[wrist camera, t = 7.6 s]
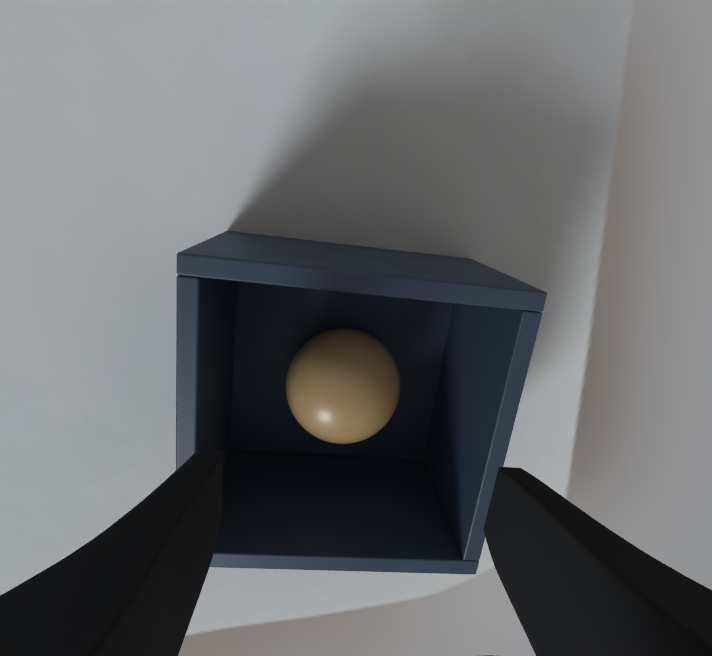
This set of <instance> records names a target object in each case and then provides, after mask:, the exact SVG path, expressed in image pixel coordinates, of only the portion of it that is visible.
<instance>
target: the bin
mask: <svg viewBox="0 0 712 656" xmlns="http://www.w3.org/2000/svg"><path fill="white" fill-rule="evenodd" d="M177 274H178V276H177V361H176V470H177V469H178V468H179V467H180V466H182V465H183V464H184V463H185V462H186V461H187V460H188V459H189V458H190V457H191V456H192V455H193V454H194V453H195V452H197V451H198V450H213V451H224V466H223V492H222V517H221V523H220V528H219V532H218V536H217V541H216V545H215V549H214V553H213V557H212V561H211V564H210V567H227V568H264V569H300V570H337V571H373V572H410V573H447V574H476V571H477V567H478V563H479V559H480V555H481V551H482V547H483V543H484V539H485V534H484V531H483V529H484V525H485V521H486V517H487V513H488V509H489V505H490V501H491V497H492V493H493V489H494V485H495V481H496V477H497V473H498V469H499V467H503V465H504V461H505V457H506V453H507V449H508V445H509V441H510V437H511V433H512V429H513V425H514V422H515V418H516V414H517V410H518V406H519V402H520V398H521V394H522V390H523V386H524V382H525V378H526V374H527V371H528V367H529V363H530V359H531V355H532V351H533V347H534V343H535V339H536V335H537V331H538V327H539V324H540V320H541V316H542V313H541V312H542V311H543V307H544V303H545V299H546V295H547V293H546V292H544V291H542V290H540V289H537V288H535V287H533V286H531V285H528V284H526V283H524V282H522V281H519V280H517V279H515V278H513V277H510V276H508V275H506V274H504V273H501V272H499V271H497V270H495V269H492V268H490V267H488V266H486V265H484V264H481V263H479V262H477V261H475V260H473V259H467V258H458V257H449V256H441V255H432V254H423V253H415V252H406V251H397V250H388V249H380V248H371V247H362V246H353V245H345V244H336V243H327V242H319V241H310V240H301V239H292V238H284V237H275V236H266V235H257V234H249V233H240V232H231V231H225V232H224V233H222V234H219V235H217V236H215V237H213V238H210V239H208V240H206V241H204V242H201V243H199V244H197V245H195V246H192V247H190V248H188V249H186V250H183V251H181V252H179V253H178V254H177ZM339 328H349V329H355V330H359V331H362V332H365V333H367V334H369V335H371V336H372V337H374V338H376V339H377V340H378V341H380V342H381V343H382V344H383V345H384V346H385V347H386V348H387V349H388V351H389V352H390V354H391V355H392V357H393V359H394V360H395V362H396V365H397V368H398V371H399V376H400V396H399V400H398V404H397V406H396V409H395V411H394V413H393V415H392V417H391V418H390V420H389V421H388V422H387V423H386V425H385V426H384V427H383V428H382V429H381V430H379V431H378V432H377V433H376V434H374V435H373V436H371V437H369V438H367V439H365V440H362V441H359V442H355V443H348V444H337V443H331V442H326V441H324V440H321V439H319V438H317V437H315V436H313V435H312V434H310V433H309V432H307V431H306V430H305V429H304V428H303V427H302V426H301V425H300V424H299V422H298V421H297V420H296V418H295V417H294V415H293V414H292V411H291V409H290V407H289V404H288V400H287V395H286V377H287V372H288V369H289V366H290V363H291V361H292V359H293V357H294V356H295V354H296V353H297V351H298V350H299V349H300V348H301V347H302V345H303V344H305V343H306V342H307V341H308V340H309V339H311V338H312V337H314V336H316V335H317V334H319V333H322V332H325V331H328V330H332V329H339Z"/></svg>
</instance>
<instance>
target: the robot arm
mask: <svg viewBox="0 0 712 656" xmlns="http://www.w3.org/2000/svg"><path fill="white" fill-rule="evenodd" d="M223 466H224V451H213V450H198V451H197V452H195V453H194V454H193V455H192V456H191V457H190V458H189V459H188V460H187V461H186V462H185V463H184V464H183V465H182V466H180V467H179V468H178V469H177V470H176V471H175V472H174V473H173V474H172V475H171V476H170V477H169V478H168V479H167V480H165V481H164V482H163V483H162V484H161V485H160V486H159V487H158V488H156V489H155V490H154V491H153V492H152V493H151V494H150V495H148V496H147V497H146V498H145V499H144V500H143V501H142V502H140V503H139V504H138V505H137V506H136V507H134V508H133V509H132V510H131V511H129V512H128V513H127V514H125V515H124V516H123V517H122V518H120V519H119V520H118V521H117V522H115V523H114V524H113V525H112V526H110V527H109V528H108V529H106V530H105V531H104V532H102V533H101V534H100V535H98V536H97V537H95V538H94V539H93V540H91V541H90V542H88V543H87V544H85V545H84V546H82V547H81V548H79V549H78V550H76V551H75V552H73V553H72V554H70V555H69V556H67V557H66V558H64V559H62V560H61V561H59V562H58V563H56V564H54V565H52V566H51V567H49V568H47V569H46V570H44V571H42V572H41V573H39V574H37V575H35V576H34V577H32V578H30V579H29V580H27V581H25V582H23V583H22V584H20V585H18V586H17V587H15V588H13V589H12V590H10V591H8V592H6V593H4V594H2V595H1V596H0V656H178V654H179V651H180V648H181V645H182V643H183V639H184V637H185V634H186V631H187V629H188V626H189V623H190V620H191V617H192V615H193V612H194V609H195V606H196V603H197V601H198V598H199V595H200V592H201V589H202V586H203V584H204V581H205V578H206V575H207V572H208V569H209V567H210V564H211V561H212V557H213V553H214V549H215V545H216V541H217V536H218V532H219V528H220V523H221V517H222V492H223ZM483 531H484V534H485V537H486V540H487V544H488V547H489V550H490V553H491V556H492V559H493V562H494V565H495V568H496V570H497V573H498V575H499V577H500V579H501V581H502V583H503V586H504V588H505V590H506V592H507V594H508V596H509V599H510V601H511V603H512V605H513V607H514V609H515V611H516V613H517V616H518V618H519V620H520V622H521V624H522V626H523V628H524V631H525V632H526V635H527V637H528V639H529V641H530V643H531V646H532V648H533V650H534V652H535V654H536V656H712V590H710V589H708V588H706V587H704V586H703V585H701V584H699V583H697V582H695V581H693V580H691V579H690V578H688V577H686V576H684V575H682V574H681V573H679V572H677V571H675V570H674V569H672V568H670V567H668V566H667V565H665V564H663V563H662V562H660V561H658V560H656V559H655V558H653V557H651V556H650V555H648V554H646V553H645V552H643V551H641V550H640V549H638V548H636V547H635V546H633V545H632V544H630V543H629V542H627V541H626V540H624V539H623V538H621V537H620V536H618V535H617V534H615V533H614V532H612V531H611V530H609V529H608V528H606V527H605V526H603V525H602V524H600V523H599V522H597V521H596V520H595V519H593V518H592V517H590V516H589V515H587V514H586V513H585V512H583V511H582V510H580V509H579V508H578V507H576V506H575V505H573V504H572V503H570V502H569V501H568V500H566V499H565V498H564V497H562V496H561V495H559V494H558V493H557V492H555V491H554V490H552V489H551V488H550V487H548V486H547V485H545V484H544V483H543V482H541V481H540V480H538V479H537V478H535V477H534V476H532V475H531V474H529V473H528V472H526V471H524V470H523V469H521V468H509V467H499V469H498V473H497V477H496V481H495V485H494V489H493V493H492V497H491V501H490V505H489V509H488V513H487V517H486V521H485V525H484V529H483Z"/></svg>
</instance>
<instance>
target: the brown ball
mask: <svg viewBox="0 0 712 656" xmlns="http://www.w3.org/2000/svg"><path fill="white" fill-rule="evenodd" d="M286 395H287V400H288V404H289V407H290V409H291V411H292V414H293V415H294V417H295V418H296V420H297V421H298V422H299V424H300V425H301V426H302V427H303V428H304V429H305V430H306V431H307V432H309V433H310V434H312V435H313V436H315V437H317V438H319V439H321V440H324V441H326V442H331V443H337V444H348V443H355V442H359V441H362V440H365V439H367V438H369V437H371V436H373V435H374V434H376V433H377V432H378V431H379V430H381V429H382V428H383V427H384V426H385V425H386V423H387V422H388V421H389V420H390V418H391V417H392V415H393V413H394V411H395V409H396V406H397V404H398V400H399V396H400V376H399V371H398V368H397V365H396V362H395V360H394V359H393V357H392V355H391V354H390V352H389V351H388V349H387V348H386V347H385V346H384V345H383V344H382V343H381V342H380V341H378V340H377V339H376V338H374V337H372V336H371V335H369V334H367V333H365V332H362V331H359V330H355V329H349V328H339V329H332V330H328V331H325V332H322V333H319V334H317V335H316V336H314V337H312V338H311V339H309V340H308V341H307V342H306V343H305V344H303V345H302V347H301V348H300V349H299V350H298V351H297V353H296V354H295V356H294V357H293V359H292V361H291V363H290V366H289V369H288V372H287V377H286Z"/></svg>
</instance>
